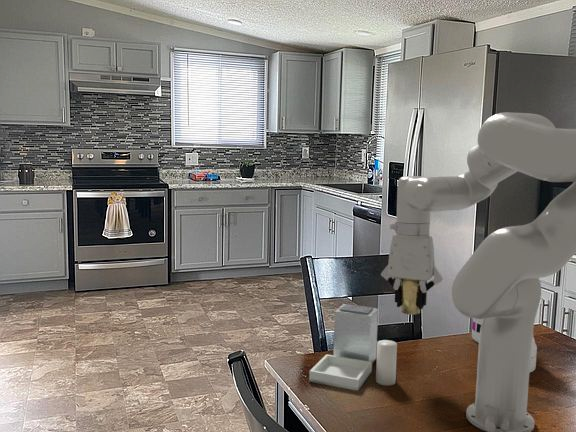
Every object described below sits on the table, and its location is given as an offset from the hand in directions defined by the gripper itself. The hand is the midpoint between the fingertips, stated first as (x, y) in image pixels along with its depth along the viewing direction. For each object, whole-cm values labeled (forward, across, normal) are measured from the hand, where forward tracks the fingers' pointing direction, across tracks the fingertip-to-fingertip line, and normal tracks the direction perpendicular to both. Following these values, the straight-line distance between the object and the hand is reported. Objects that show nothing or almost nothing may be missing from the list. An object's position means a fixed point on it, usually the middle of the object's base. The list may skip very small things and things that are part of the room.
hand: (410, 306), depth 135 cm
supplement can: (+16, +15, +32) cm, 39 cm away
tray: (+16, -14, -10) cm, 23 cm away
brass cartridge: (+1, 0, 0) cm, 1 cm away
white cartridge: (+16, -4, -8) cm, 18 cm away
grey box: (+16, -14, +2) cm, 21 cm away
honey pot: (+16, +21, +16) cm, 32 cm away
